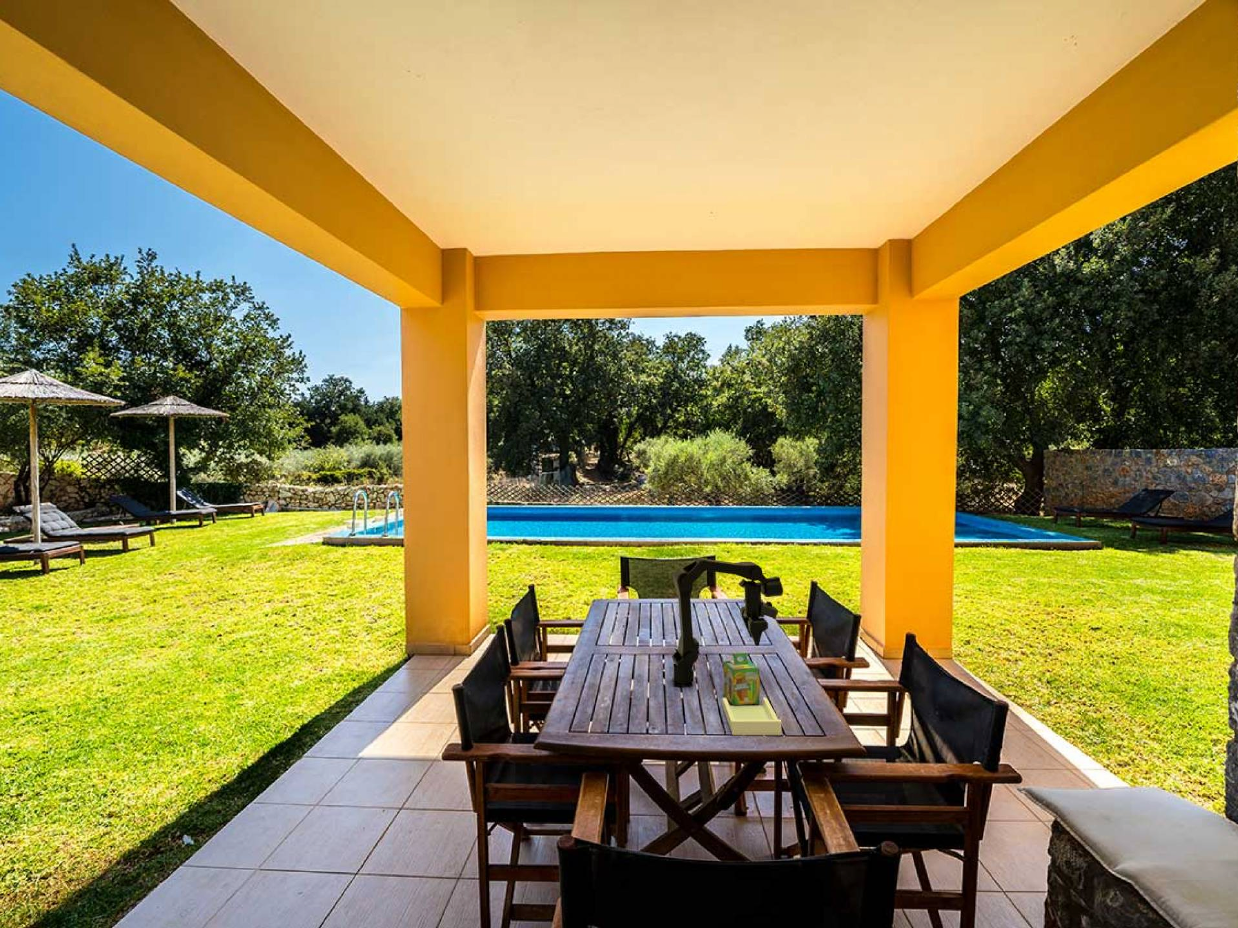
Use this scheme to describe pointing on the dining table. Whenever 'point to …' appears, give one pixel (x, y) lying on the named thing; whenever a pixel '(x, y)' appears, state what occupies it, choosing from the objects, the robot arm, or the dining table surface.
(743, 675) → the chalk box
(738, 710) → the pale yellow tray
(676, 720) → the dining table surface
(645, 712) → the dining table surface
